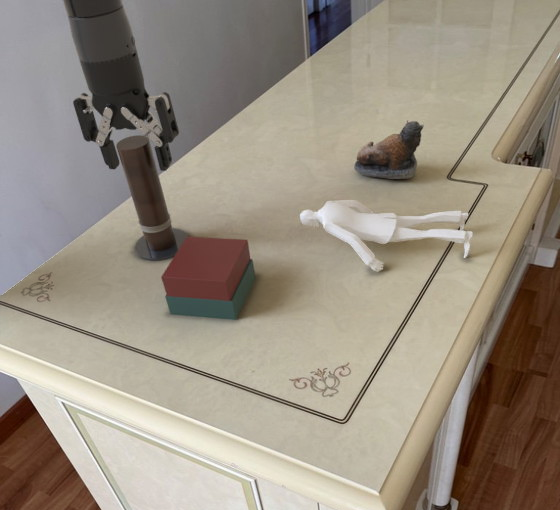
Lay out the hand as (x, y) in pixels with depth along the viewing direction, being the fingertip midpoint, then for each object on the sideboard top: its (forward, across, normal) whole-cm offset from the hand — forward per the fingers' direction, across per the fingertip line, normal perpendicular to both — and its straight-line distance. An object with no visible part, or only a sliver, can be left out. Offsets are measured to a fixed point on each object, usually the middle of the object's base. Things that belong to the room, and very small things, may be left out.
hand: (140, 167), depth 88 cm
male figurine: (+14, +36, +3) cm, 39 cm away
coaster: (+14, 0, 0) cm, 14 cm away
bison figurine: (+14, +34, +26) cm, 45 cm away
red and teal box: (+14, +13, -12) cm, 23 cm away
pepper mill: (+10, 0, +5) cm, 11 cm away
